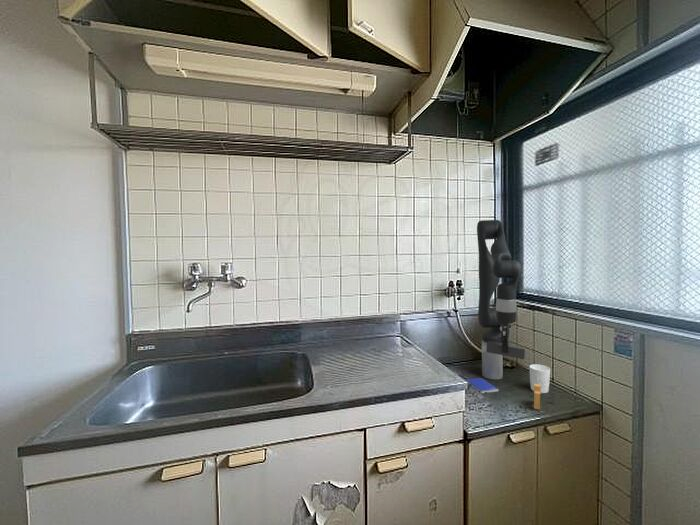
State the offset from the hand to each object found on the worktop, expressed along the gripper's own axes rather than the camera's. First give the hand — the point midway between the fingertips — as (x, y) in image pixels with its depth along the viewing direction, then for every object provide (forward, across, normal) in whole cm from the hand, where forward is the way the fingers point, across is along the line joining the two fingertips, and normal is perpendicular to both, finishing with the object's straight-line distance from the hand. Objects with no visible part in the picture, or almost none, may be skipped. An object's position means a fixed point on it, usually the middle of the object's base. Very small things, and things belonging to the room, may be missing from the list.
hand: (505, 351), depth 136 cm
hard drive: (+21, +9, +10) cm, 25 cm away
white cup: (+21, +16, -12) cm, 29 cm away
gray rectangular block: (+1, 0, 0) cm, 1 cm away
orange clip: (+20, -1, -12) cm, 23 cm away
